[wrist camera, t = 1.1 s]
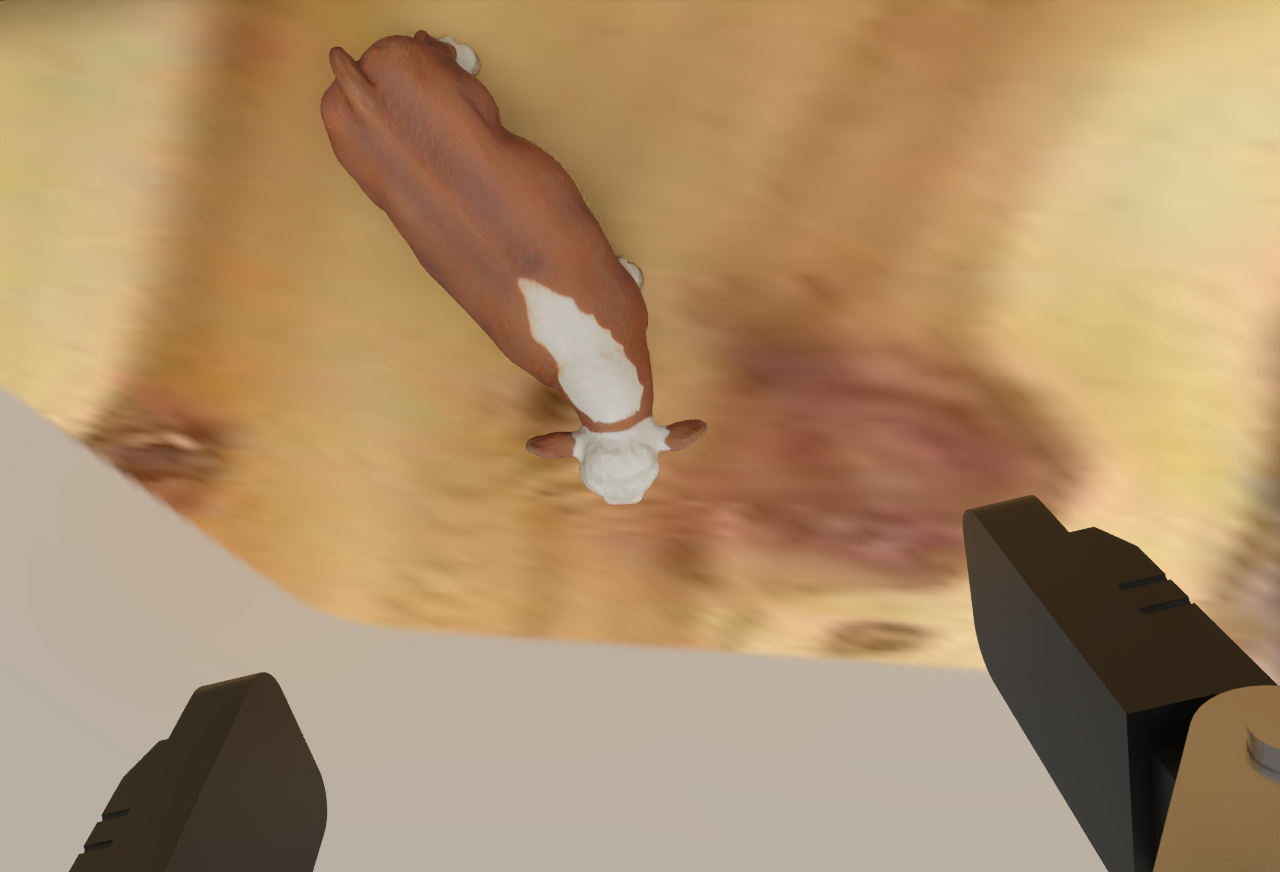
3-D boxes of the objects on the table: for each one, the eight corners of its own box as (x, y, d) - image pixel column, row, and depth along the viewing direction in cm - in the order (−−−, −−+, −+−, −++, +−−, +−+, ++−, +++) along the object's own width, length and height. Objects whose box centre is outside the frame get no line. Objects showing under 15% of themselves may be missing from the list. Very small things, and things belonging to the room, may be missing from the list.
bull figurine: (595, 438, 33) (600, 569, 26) (332, 66, 29) (245, 97, 21) (711, 370, 33) (750, 484, 25) (462, -25, 28) (420, -27, 20)
